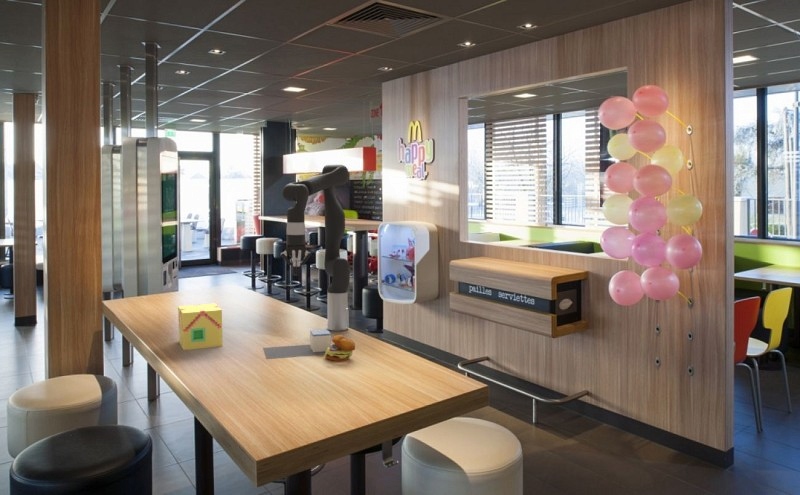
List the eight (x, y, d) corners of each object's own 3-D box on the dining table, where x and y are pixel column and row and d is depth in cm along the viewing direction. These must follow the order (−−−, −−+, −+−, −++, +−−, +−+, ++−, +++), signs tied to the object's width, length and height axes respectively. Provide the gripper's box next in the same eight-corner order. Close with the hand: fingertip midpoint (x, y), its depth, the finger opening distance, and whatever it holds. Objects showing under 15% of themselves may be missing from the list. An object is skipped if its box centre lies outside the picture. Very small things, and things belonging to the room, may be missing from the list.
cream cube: (310, 330, 236) (310, 347, 236) (313, 334, 229) (313, 352, 230) (327, 329, 238) (327, 346, 239) (330, 333, 231) (330, 350, 232)
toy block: (183, 350, 232) (182, 313, 230) (179, 341, 245) (178, 306, 243) (222, 345, 239) (221, 310, 237) (215, 337, 252) (215, 303, 250)
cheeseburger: (324, 354, 227) (330, 330, 227) (350, 360, 228) (357, 336, 228) (323, 361, 217) (329, 336, 217) (350, 368, 218) (357, 342, 218)
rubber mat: (328, 343, 243) (328, 343, 243) (336, 354, 228) (336, 353, 228) (262, 348, 235) (262, 347, 235) (266, 359, 220) (266, 359, 220)
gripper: (310, 232, 243) (310, 273, 245) (278, 232, 239) (278, 274, 241) (313, 233, 236) (313, 276, 238) (280, 234, 232) (281, 277, 234)
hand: (296, 275), depth 239 cm, fingers closed
